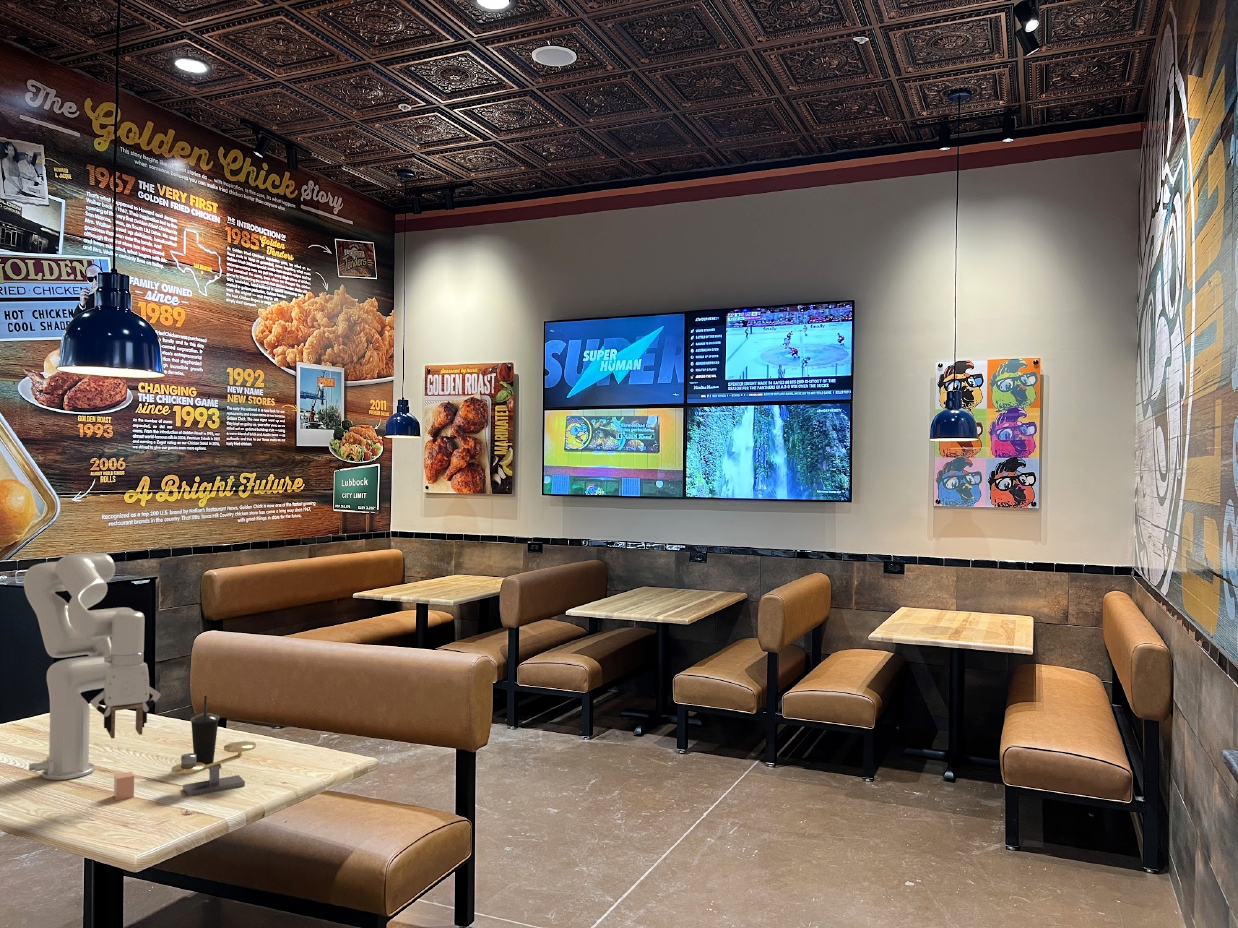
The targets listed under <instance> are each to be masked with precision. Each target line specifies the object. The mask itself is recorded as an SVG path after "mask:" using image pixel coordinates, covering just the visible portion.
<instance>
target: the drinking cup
mask: <svg viewBox="0 0 1238 928" xmlns="http://www.w3.org/2000/svg"><path fill="white" fill-rule="evenodd" d="M207 701H208V696H207V695H204V696H203V712H202V713H200V714H197V715H195V716H193V717H191V718H190V723H191V736H192V737H191V738H192V748H193V753H194V754H196V762H200V763H204V764H205V765H208V764H211V763H214V762H215V761H214V760H215V751H216V743H217V733H218V727H219V726H218V724H219V720H220V716H219V715H218V714H214V713H212V712H211V713H210V712H209V713H207V709H208V708H207V704H208V703H207Z"/></svg>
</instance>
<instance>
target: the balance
mask: <svg viewBox="0 0 1238 928" xmlns="http://www.w3.org/2000/svg"><path fill="white" fill-rule="evenodd" d="M256 747H257V743H256V742H254V741H245V740H244V741H236V742H235V741H234V742H231V743H228V744H225V745H224V746H223V750H224V751H225V752H227V753H237V754H235V755H233V756H230V757H229V756H228V757H227V758H223V759H221V760H217V761H214V762H213V763H211V764H208V765H205V764H204V763H200V762H196V754H194V752H191V753H184V754H181V756H180V763H179V764H176V765H174V766H172V767H171V773H172V774H176V775H192V774H195V773H198V772H202V771H204V770H207V769H208V770H209V775H208V776H209V779H208V780H203V781H195V782H193V783H186V784H182V790H183V792H184V793H185V792H186V793H187V794H186V793H185V794H186V795H187V797H190V796H189V795H193V796H197V795H203V794H202V793H204V794H208V792H209V793H214V792H218V791H219V790H220V791H224V789H226V790H228V789H227V788H231V789H235V788H234V787H237V788H242V787H245V786H246V784H245V783H246V781H245V779H243V778H242V777H241V776H240V775H239V774H238V775H232V776H226V777H220V769H222V764H225V763H228V762H232V761H235V760H237V759H240V758H241V757H242V756H243V754H242V753H244V752H248V751H251V750H254V749H256ZM200 793H201V794H200Z"/></svg>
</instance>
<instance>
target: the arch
mask: <svg viewBox="0 0 1238 928" xmlns="http://www.w3.org/2000/svg"><path fill="white" fill-rule="evenodd" d="M130 709H131V710H132V709H135V731H136V732H137V734H138V735H143V728H144V727H143V703H140V704H133V705H124V706H115V707H111V713H110V716H111V731H110V732H108V731H107V733H108V735H109V737H110V739H112V740H113V739H115V738H116V737H115V736H116V732H115V731H116V711H123V710H130ZM142 727H143V728H142Z"/></svg>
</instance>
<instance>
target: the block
mask: <svg viewBox="0 0 1238 928" xmlns="http://www.w3.org/2000/svg"><path fill="white" fill-rule="evenodd" d="M113 776H114V777H113V778H114V779H113V784H114V785H113V797H114V800H115V801H121V800H126V798H127V799H133V798H134V797H135V775H134V773H133V772H132V771H128V772H122V773H116V774H114V775H113ZM132 797H133V798H132Z"/></svg>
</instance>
